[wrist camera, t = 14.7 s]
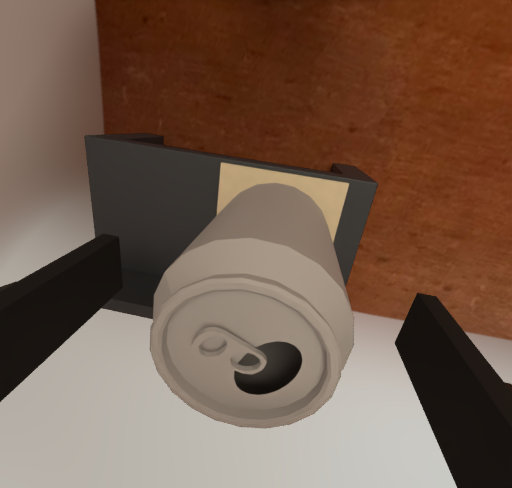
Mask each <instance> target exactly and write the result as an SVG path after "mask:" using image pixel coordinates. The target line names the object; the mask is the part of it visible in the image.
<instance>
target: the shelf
mask: <svg viewBox="0 0 512 488" xmlns="http://www.w3.org/2000/svg"><path fill="white" fill-rule="evenodd" d="M84 138H85V147H86V155H87V165H88V174H89V182H90V192H91V201H92V210H93V219H94V228H95V238H96V237H98V236H100V235H101V234H108V235H114V236H119V241H120V254H121V267H122V279H123V288H122V289H121V290H120V291H119V292H118V293H117V294H116V295H115V296H114V297H112V298H111V299H110V300H109V301H108V302H107V303H106V304H105V305H104V306H103V307H102V308H103V309H108V310H113V311H117V312H122V313H127V314H131V315H136V316H141V317H146V318H150V319H153V307H154V294H155V292H156V290H157V288H158V285H159V283H160V281H161V279H162V277H163V275H164V272H165V271H166V270H167V269H168V268H169V267H170V266H171V264H172V263H173V262H174V261H175V260H176V259H177V258H178V257H179V256H180V255H181V254H182V253H183V252H184V250H185V249H186V248H187V247H188V246H189V245H190V244H191V243H192V242H193V241H194V240H195V239H196V238H197V236H198V235H199V234H200V233H201V232H202V231H203V230H204V229H205V228H206V227H207V226H208V225H209V224H210V222H211V221H212V220H213V219H214V218H215V217H216V216H217V215H218V214H219V213H220V212H221V211H222V210H223V209H224V207H225V206H226V205H227V204H228V203H229V202H230V201H231V200H232V199H233V198H235V197H236V196H237V195H238V194H239V193H240V192H241V191H243V190H246V189H248V188H250V187H252V186H255V185H257V184H266V183H280V184H284V185H289V186H293V187H295V188H297V189H299V190H300V191H302V192H304V193H305V194H307V195H309V196H310V197H311V198H312V199H313V200H314V202H315V203H316V204H317V205H318V206H319V207H320V209H321V210H322V212H323V214H324V217H325V220H326V222H327V225H328V228H329V231H330V235H331V238H332V242H333V245H334V249H335V252H336V256H337V259H338V263H339V267H340V270H341V274H342V277H343V281H344V284H345V287H346V284H347V281H348V278H349V274H350V271H351V268H352V265H353V262H354V259H355V255H356V252H357V249H358V246H359V243H360V240H361V237H362V233H363V230H364V227H365V224H366V221H367V218H368V214H369V211H370V208H371V205H372V202H373V199H374V195H375V192H376V189H377V186H378V183H377V182H376V181H374V180H373V179H372V178H370V177H369V176H368V175H366V174H365V173H364V172H362V171H361V170H359V169H358V168H357V167H355V166H349V165H343V164H336V163H333V166H332V170H331V172H326V171H319V170H313V169H307V168H301V167H295V166H288V165H282V164H276V163H270V162H264V161H257V160H251V159H245V158H239V157H232V156H226V155H220V154H214V153H208V152H201V151H195V150H189V149H183V148H177V147H170V146H164V145H163V136H159V135H153V134H147V133H132V134H107V135H86V136H85V137H84Z"/></svg>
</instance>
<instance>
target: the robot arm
mask: <svg viewBox="0 0 512 488" xmlns="http://www.w3.org/2000/svg"><path fill="white" fill-rule="evenodd" d="M122 288H123V279H122V267H121V254H120V241H119V236H114V235H108V234H101V235H100V236H98V237H96V238H94V239H93V240H91V241H89V242H87V243H85V244H84V245H82V246H80V247H78V248H77V249H75V250H73V251H71V252H70V253H68V254H66V255H64V256H62V257H61V258H59V259H57V260H55V261H53V262H52V263H50V264H48V265H47V266H45V267H43V268H41V269H39V270H37V271H36V272H34V273H32V274H30V275H28V276H27V277H25V278H23V279H21V280H20V281H18V282H14V283H11V284H8V285H5V286H2V287H0V402H1V401H2V400H3V399H4V398H5V397H6V396H7V395H8V394H9V393H10V392H11V391H13V390H14V389H15V388H16V387H17V386H18V385H19V384H20V383H21V382H22V381H23V380H24V379H25V378H26V377H28V376H29V375H30V374H31V373H32V372H33V371H34V370H35V369H36V368H37V367H38V366H39V365H40V364H42V363H43V362H44V361H45V360H46V359H47V358H48V357H49V356H50V355H51V354H52V353H53V352H54V351H56V350H57V349H58V348H59V347H60V346H61V345H62V344H63V343H64V342H65V341H66V340H67V339H68V338H69V337H70V336H72V335H73V334H74V333H75V332H76V331H77V330H78V329H79V328H80V327H81V326H82V325H83V324H84V323H86V322H87V321H88V320H89V319H90V318H91V317H92V316H93V315H94V314H95V313H96V312H97V311H98V310H100V309H101V308H102V307H103V306H104V305H105V304H106V303H107V302H108V301H109V300H110V299H111V298H112V297H114V296H115V295H116V294H117V293H118V292H119V291H120V290H121V289H122ZM395 345H396V347H397V349H398V352H399V354H400V356H401V359H402V361H403V363H404V365H405V368H406V370H407V372H408V375H409V377H410V380H411V382H412V384H413V387H414V389H415V391H416V393H417V396H418V398H419V400H420V403H421V405H422V407H423V410H424V412H425V414H426V416H427V419H428V421H429V424H430V426H431V428H432V430H433V433H434V435H435V437H436V439H437V442H438V444H439V446H440V449H441V451H442V454H443V456H444V458H445V460H446V463H447V465H448V467H449V470H450V472H451V474H452V476H453V479H454V481H455V483H456V486H457V488H512V385H511V384H509V383H505V382H503V380H502V379H501V378H500V377H499V375H498V374H497V373H496V372H495V370H494V369H493V368H492V367H491V365H490V364H489V363H488V362H487V360H486V359H485V358H484V356H483V355H482V354H481V353H480V351H479V350H478V349H477V348H476V347H475V345H474V344H473V343H472V341H471V340H470V339H469V337H468V336H467V335H466V334H465V332H464V331H463V330H462V328H461V327H460V326H459V325H458V323H457V322H456V321H455V320H454V318H453V317H452V316H451V315H450V313H449V312H448V311H447V309H446V308H445V307H444V306H443V304H442V303H441V302H440V301H439V299H438V298H437V297H436V296H431V295H425V294H420V293H417V295H416V297H415V299H414V301H413V304H412V306H411V308H410V310H409V312H408V315H407V317H406V319H405V321H404V324H403V326H402V328H401V330H400V333H399V335H398V337H397V339H396V341H395Z"/></svg>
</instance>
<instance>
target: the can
mask: <svg viewBox="0 0 512 488" xmlns="http://www.w3.org/2000/svg"><path fill="white" fill-rule="evenodd" d="M150 334H151V335H150V351H151V354H152V357H153V360H154V363H155V366H156V369H157V371H158V373H159V374H160V376H161V377H162V379H163V380H164V381H165V383H166V384H167V385H168V387H169V388H170V389H171V391H172V392H173V393H174V394H175V395H177V396H178V397H179V398H180V399H181V400H183V401H184V402H185V403H186V404H187V405H189V406H190V407H191V408H193V409H195V410H196V411H198V412H200V413H202V414H204V415H206V416H208V417H210V418H212V419H214V420H217V421H221V422H224V423H228V424H232V425H235V426H240V427H251V428H271V427H277V426H284V425H290V424H292V423H294V422H297V421H299V420H301V419H303V418H305V417H308V416H310V415H312V414H314V413H315V412H316V411H318V410H319V409H320V408H321V407H322V406H323V405H324V404H325V403H326V402H327V401H328V400H329V399H330V398H331V397H332V395H333V393H334V391H335V388H336V386H337V384H338V382H339V379H340V377H341V371H342V369H343V368H344V366H345V364H346V362H347V359H348V357H349V355H350V353H351V350H352V348H353V346H354V316H353V313H352V309H351V306H350V302H349V298H348V295H347V291H346V288H345V284H344V281H343V277H342V274H341V270H340V267H339V263H338V259H337V256H336V252H335V249H334V245H333V242H332V238H331V235H330V231H329V228H328V225H327V222H326V220H325V217H324V214H323V212H322V210H321V209H320V207H319V206H318V205H317V204H316V203H315V202H314V200H313V199H312V198H311V197H310V196H309V195H307V194H305V193H304V192H302V191H300V190H299V189H297V188H295V187H293V186H289V185H284V184H280V183H266V184H257V185H255V186H252V187H250V188H248V189H246V190H243V191H241V192H240V193H239V194H238V195H237V196H236V197H235V198H233V199H232V200H231V201H230V202H229V203H228V204H227V205H226V206H225V207H224V209H223V210H222V211H221V212H220V213H219V214H218V215H217V216H216V217H215V218H214V219H213V220H212V221H211V222H210V224H209V225H208V226H207V227H206V228H205V229H204V230H203V231H202V232H201V233H200V234H199V235H198V236H197V238H196V239H195V240H194V241H193V242H192V243H191V244H190V245H189V246H188V247H187V248H186V249H185V250H184V252H183V253H182V254H181V255H180V256H179V257H178V258H177V259H176V260H175V261H174V262H173V263H172V264H171V266H170V267H169V268H168V269H167V270H166V271H165V272H164V275H163V277H162V279H161V281H160V283H159V285H158V288H157V290H156V292H155V294H154V307H153V323H152V325H151V332H150Z"/></svg>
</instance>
